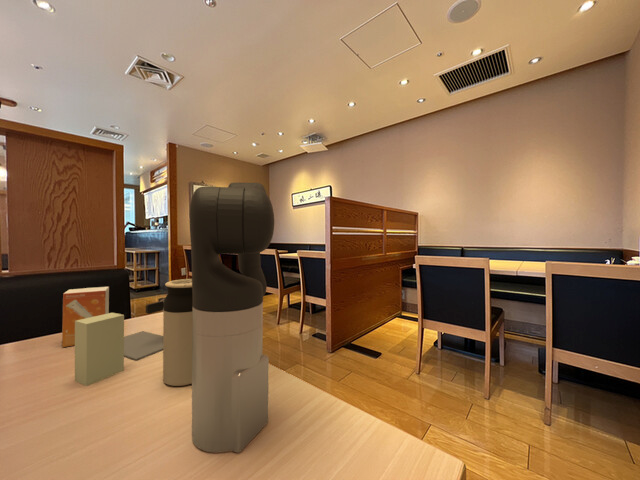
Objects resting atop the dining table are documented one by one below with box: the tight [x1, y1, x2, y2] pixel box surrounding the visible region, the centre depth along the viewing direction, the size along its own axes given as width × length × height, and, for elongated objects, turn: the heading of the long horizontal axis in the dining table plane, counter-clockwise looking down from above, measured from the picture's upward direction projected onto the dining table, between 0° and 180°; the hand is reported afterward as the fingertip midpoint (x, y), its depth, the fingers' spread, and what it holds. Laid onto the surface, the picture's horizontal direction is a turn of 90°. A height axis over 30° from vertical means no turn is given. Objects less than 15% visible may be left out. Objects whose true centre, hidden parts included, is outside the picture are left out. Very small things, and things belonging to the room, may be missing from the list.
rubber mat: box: [124, 330, 163, 362], centre depth 64 cm, size 16×11×1 cm
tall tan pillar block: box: [74, 312, 125, 387], centre depth 49 cm, size 4×6×11 cm, turn 155°
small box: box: [61, 286, 110, 348], centre depth 66 cm, size 8×6×13 cm
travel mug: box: [162, 278, 193, 387], centre depth 49 cm, size 8×8×18 cm
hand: (158, 311), depth 60 cm, fingers open, 8 cm apart
